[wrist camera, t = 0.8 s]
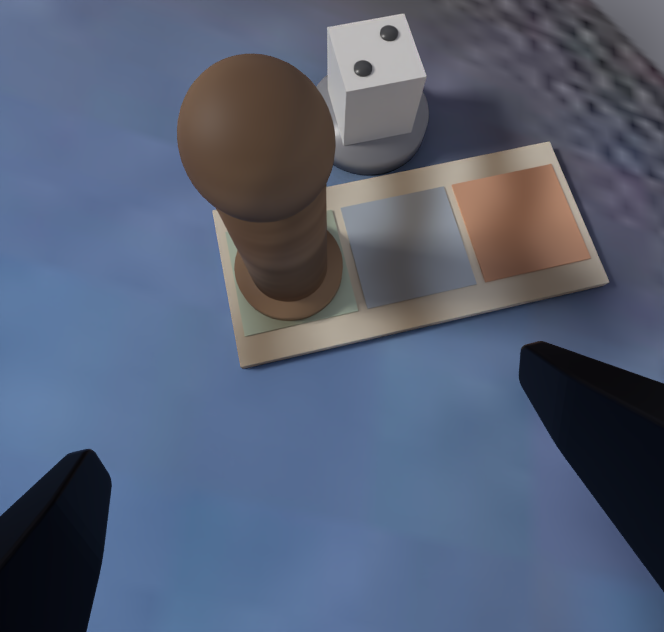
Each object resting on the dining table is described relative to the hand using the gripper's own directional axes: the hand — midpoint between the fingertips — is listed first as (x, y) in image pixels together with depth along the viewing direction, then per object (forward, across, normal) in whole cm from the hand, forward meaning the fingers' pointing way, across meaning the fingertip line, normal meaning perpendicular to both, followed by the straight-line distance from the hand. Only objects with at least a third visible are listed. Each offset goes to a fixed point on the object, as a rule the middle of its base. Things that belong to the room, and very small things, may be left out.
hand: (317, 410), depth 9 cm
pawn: (+14, 0, +3) cm, 15 cm away
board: (+15, -6, +4) cm, 17 cm away
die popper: (+21, -6, -2) cm, 22 cm away
